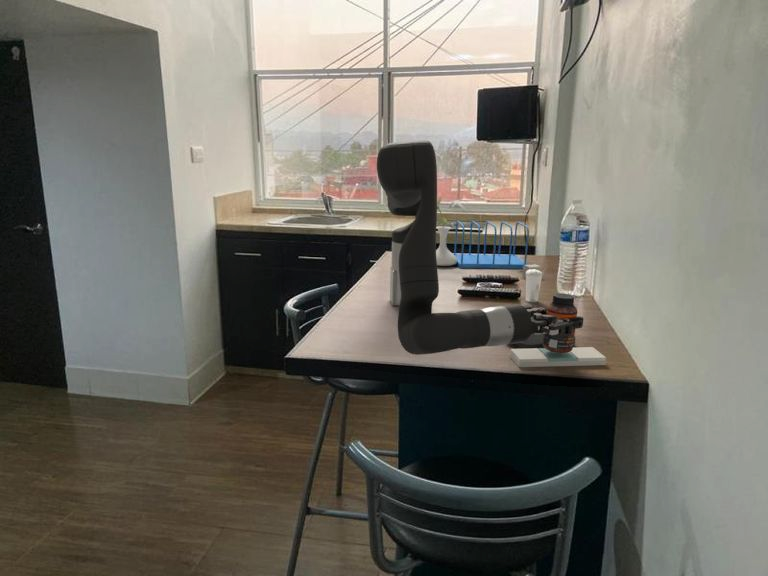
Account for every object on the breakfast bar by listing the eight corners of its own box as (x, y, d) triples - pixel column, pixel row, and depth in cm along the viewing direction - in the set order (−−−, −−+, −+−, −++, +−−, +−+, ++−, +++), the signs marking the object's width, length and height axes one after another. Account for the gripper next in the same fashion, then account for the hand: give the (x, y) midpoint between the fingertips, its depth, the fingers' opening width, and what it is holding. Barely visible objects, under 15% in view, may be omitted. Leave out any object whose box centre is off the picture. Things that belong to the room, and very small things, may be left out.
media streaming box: (582, 350, 119) (583, 337, 118) (523, 356, 115) (524, 343, 114) (543, 328, 133) (544, 316, 132) (489, 334, 128) (490, 321, 127)
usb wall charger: (540, 278, 182) (541, 266, 181) (522, 279, 180) (522, 267, 179) (533, 275, 186) (534, 264, 185) (515, 276, 184) (516, 265, 183)
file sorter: (458, 268, 195) (461, 226, 191) (451, 259, 212) (453, 219, 208) (528, 269, 196) (531, 226, 192) (515, 259, 213) (518, 220, 209)
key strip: (518, 367, 108) (519, 359, 108) (509, 355, 114) (509, 348, 114) (605, 365, 110) (606, 357, 110) (592, 354, 116) (592, 346, 115)
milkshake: (543, 303, 152) (546, 268, 150) (523, 302, 153) (526, 267, 151) (542, 299, 157) (545, 265, 154) (523, 298, 158) (525, 264, 155)
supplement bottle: (557, 356, 107) (563, 300, 105) (536, 346, 113) (541, 293, 110) (579, 351, 110) (585, 297, 107) (557, 342, 115) (563, 290, 112)
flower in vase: (436, 260, 208) (439, 194, 202) (463, 264, 201) (466, 196, 195) (418, 266, 198) (420, 196, 191) (445, 270, 191) (448, 198, 185)
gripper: (525, 317, 97) (598, 309, 103) (481, 296, 110) (549, 290, 116) (521, 357, 99) (594, 346, 105) (479, 332, 112) (545, 324, 118)
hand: (570, 317), depth 111 cm, fingers closed on supplement bottle, 6 cm apart
